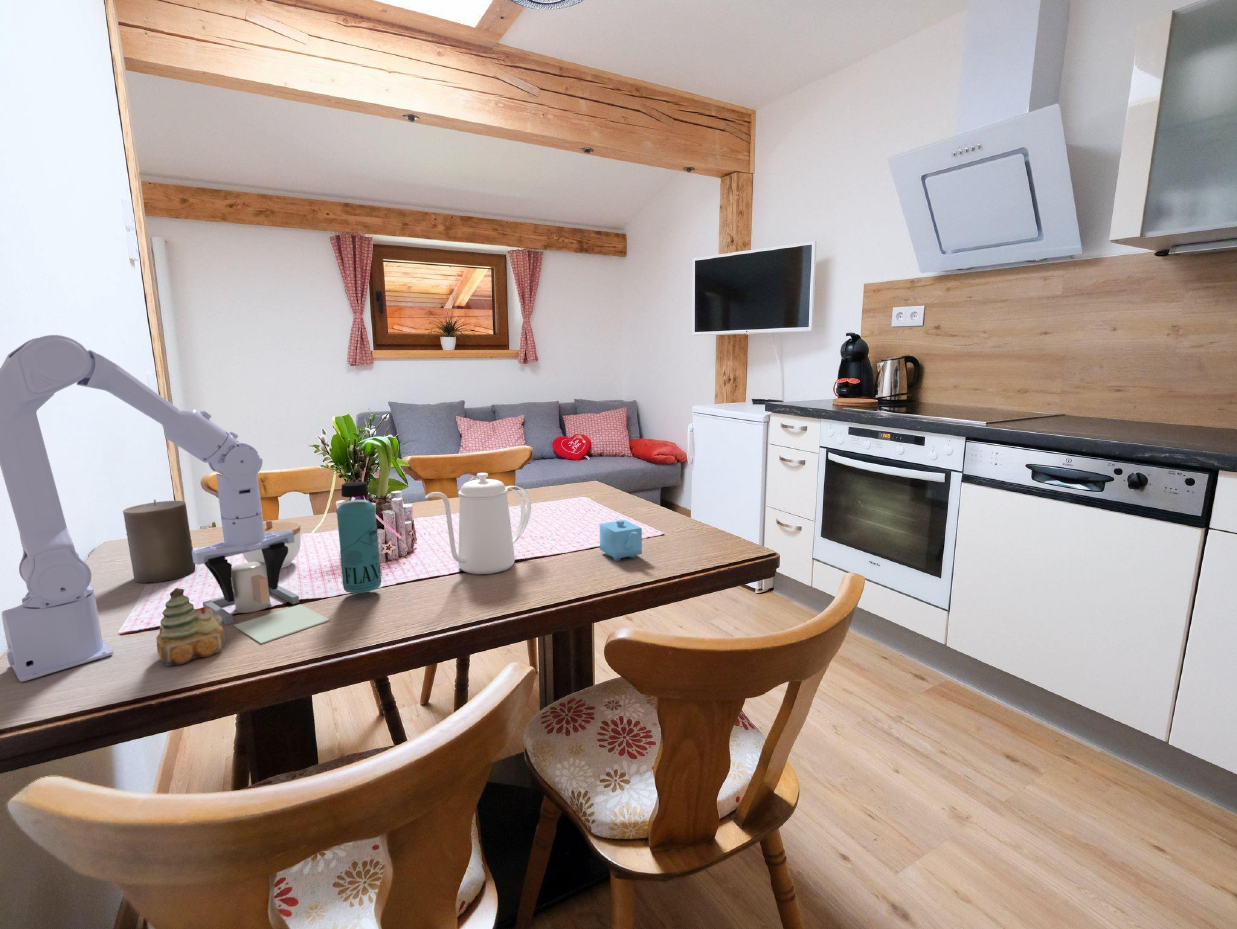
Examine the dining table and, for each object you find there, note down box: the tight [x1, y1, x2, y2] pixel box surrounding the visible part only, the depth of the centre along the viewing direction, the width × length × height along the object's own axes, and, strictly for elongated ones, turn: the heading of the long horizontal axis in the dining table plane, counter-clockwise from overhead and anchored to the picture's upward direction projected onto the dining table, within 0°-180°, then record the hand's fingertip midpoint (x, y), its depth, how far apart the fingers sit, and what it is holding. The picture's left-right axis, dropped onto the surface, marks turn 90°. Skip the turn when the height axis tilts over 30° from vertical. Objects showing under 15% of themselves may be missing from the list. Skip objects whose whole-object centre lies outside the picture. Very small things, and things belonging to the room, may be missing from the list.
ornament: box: [156, 587, 226, 667], centre depth 84 cm, size 8×6×10 cm
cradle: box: [202, 585, 300, 626], centre depth 101 cm, size 11×10×1 cm
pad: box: [233, 603, 330, 645], centre depth 94 cm, size 10×10×1 cm
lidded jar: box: [242, 519, 302, 569], centre depth 120 cm, size 11×11×9 cm
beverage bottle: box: [335, 481, 383, 594], centre depth 104 cm, size 6×7×20 cm
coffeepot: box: [424, 472, 532, 575], centre depth 117 cm, size 11×25×19 cm, turn 143°
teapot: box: [599, 519, 643, 562], centre depth 123 cm, size 12×6×8 cm, turn 27°
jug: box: [231, 562, 271, 614], centre depth 99 cm, size 8×5×7 cm, turn 52°
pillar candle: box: [122, 499, 196, 584], centre depth 116 cm, size 10×10×15 cm
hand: (251, 593), depth 101 cm, fingers open, 6 cm apart
